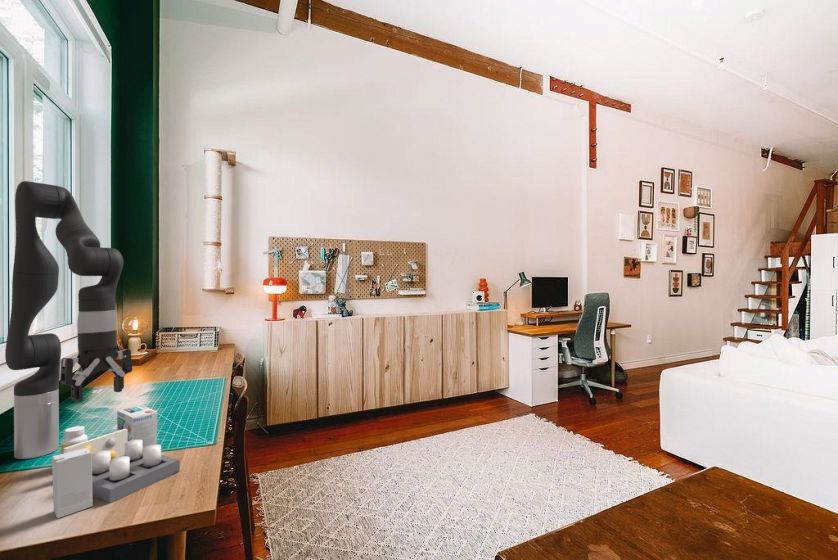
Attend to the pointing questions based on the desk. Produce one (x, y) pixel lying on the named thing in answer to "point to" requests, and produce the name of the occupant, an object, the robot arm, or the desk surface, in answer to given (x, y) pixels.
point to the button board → (133, 479)
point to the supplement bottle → (73, 437)
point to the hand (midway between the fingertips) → (98, 396)
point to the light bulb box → (139, 424)
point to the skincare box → (72, 482)
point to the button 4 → (151, 455)
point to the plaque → (104, 444)
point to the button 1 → (100, 461)
